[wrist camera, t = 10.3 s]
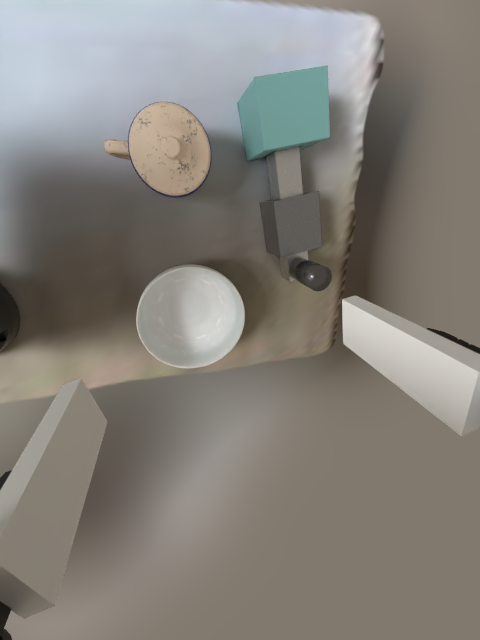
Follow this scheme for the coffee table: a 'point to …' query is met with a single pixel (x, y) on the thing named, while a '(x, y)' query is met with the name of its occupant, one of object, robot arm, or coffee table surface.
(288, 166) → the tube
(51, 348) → the coffee table surface
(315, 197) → the sleeve
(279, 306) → the coffee table surface
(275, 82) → the socket
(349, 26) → the coffee table surface
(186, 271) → the cereal bowl
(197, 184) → the teacup with lid
